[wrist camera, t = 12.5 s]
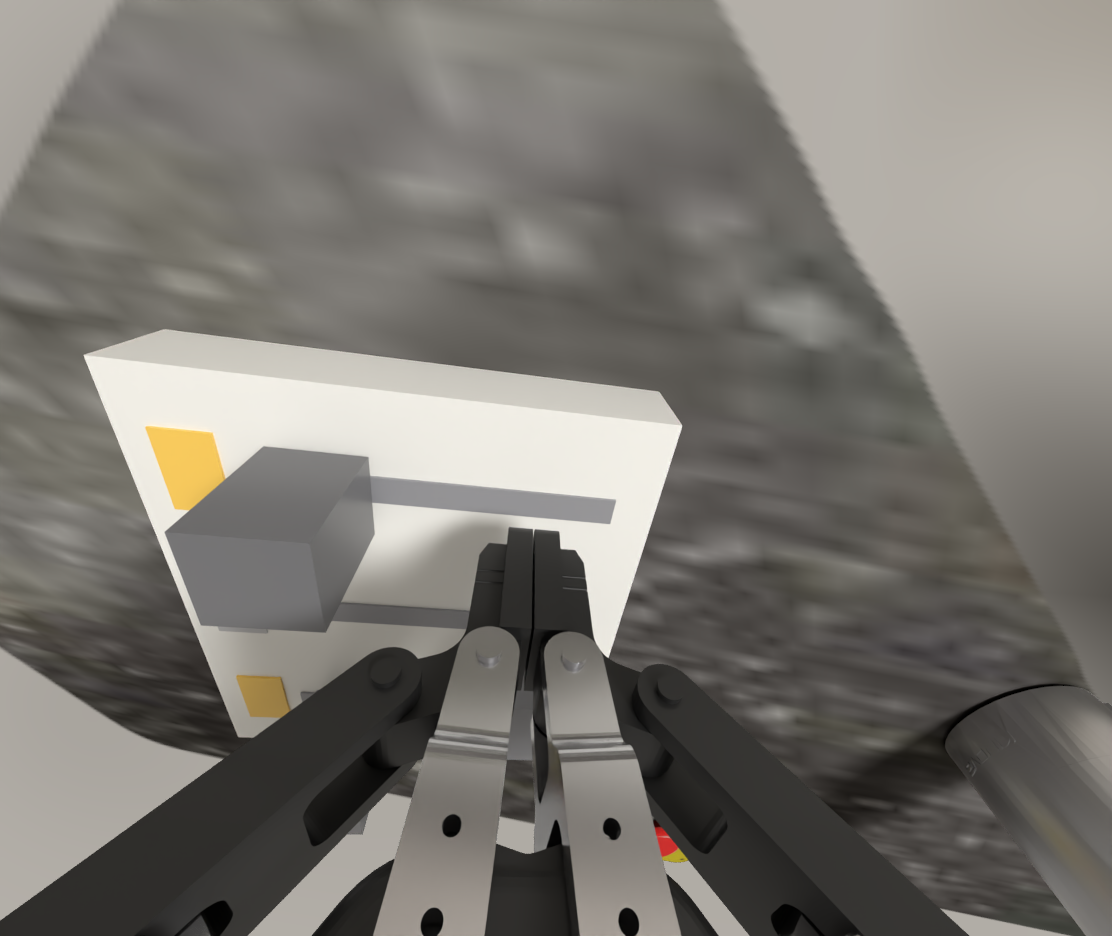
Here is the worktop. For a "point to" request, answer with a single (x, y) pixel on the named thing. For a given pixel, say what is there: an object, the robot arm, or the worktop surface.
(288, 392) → the switch panel
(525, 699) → the switch
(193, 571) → the switch
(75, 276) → the worktop surface
